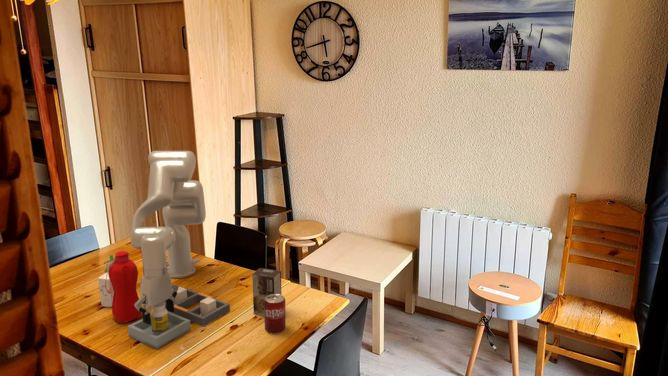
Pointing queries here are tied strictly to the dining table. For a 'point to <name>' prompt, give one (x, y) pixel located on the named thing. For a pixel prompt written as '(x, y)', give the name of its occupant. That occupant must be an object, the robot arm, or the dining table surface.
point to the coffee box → (264, 287)
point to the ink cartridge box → (104, 294)
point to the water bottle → (124, 287)
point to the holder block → (195, 312)
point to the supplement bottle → (159, 318)
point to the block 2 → (207, 306)
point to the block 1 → (180, 295)
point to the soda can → (274, 313)
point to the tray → (145, 334)
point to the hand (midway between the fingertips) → (159, 317)
